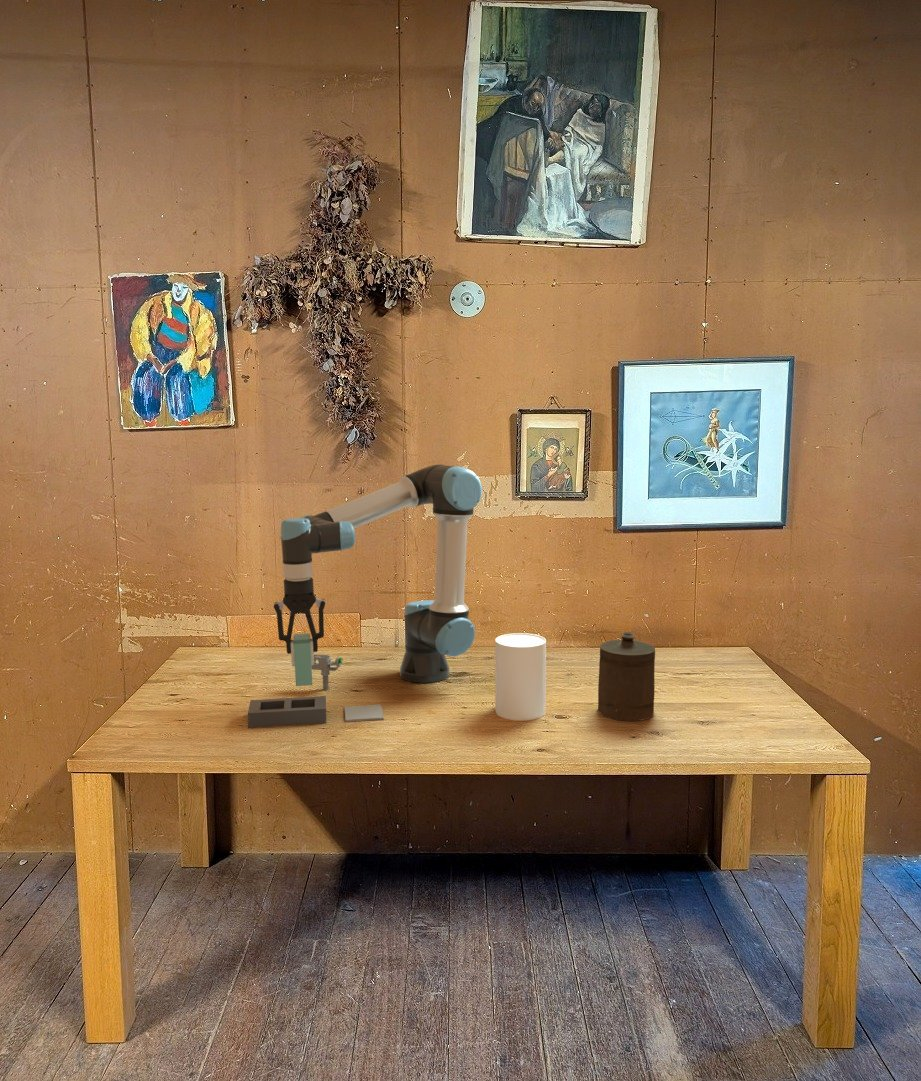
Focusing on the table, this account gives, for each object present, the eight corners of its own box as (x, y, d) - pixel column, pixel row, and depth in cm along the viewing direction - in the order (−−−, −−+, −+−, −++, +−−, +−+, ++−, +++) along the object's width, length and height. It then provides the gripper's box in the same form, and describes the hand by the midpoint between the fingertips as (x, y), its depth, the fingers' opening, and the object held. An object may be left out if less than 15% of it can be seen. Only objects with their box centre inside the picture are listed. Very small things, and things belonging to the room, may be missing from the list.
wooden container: (640, 700, 247) (642, 624, 243) (663, 719, 233) (665, 638, 229) (589, 704, 244) (591, 627, 240) (610, 724, 230) (612, 642, 226)
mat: (381, 706, 243) (381, 704, 243) (383, 719, 233) (383, 717, 233) (344, 708, 242) (344, 706, 242) (345, 722, 232) (345, 719, 232)
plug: (312, 679, 236) (309, 633, 234) (312, 685, 232) (309, 637, 230) (296, 681, 236) (293, 634, 233) (295, 686, 231) (293, 638, 229)
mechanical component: (340, 692, 255) (339, 658, 253) (307, 689, 257) (306, 656, 255) (344, 688, 258) (343, 655, 256) (311, 686, 260) (309, 653, 258)
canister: (555, 711, 239) (556, 639, 236) (522, 724, 230) (522, 650, 226) (518, 699, 248) (518, 630, 245) (485, 711, 239) (484, 640, 236)
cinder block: (326, 709, 241) (325, 695, 240) (326, 723, 231) (325, 708, 231) (251, 714, 238) (250, 700, 237) (248, 728, 228) (247, 713, 228)
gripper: (331, 573, 234) (335, 657, 238) (265, 576, 231) (270, 662, 235) (332, 579, 226) (336, 666, 231) (263, 583, 224) (268, 671, 228)
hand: (303, 664), depth 233 cm, fingers closed on plug, 4 cm apart
